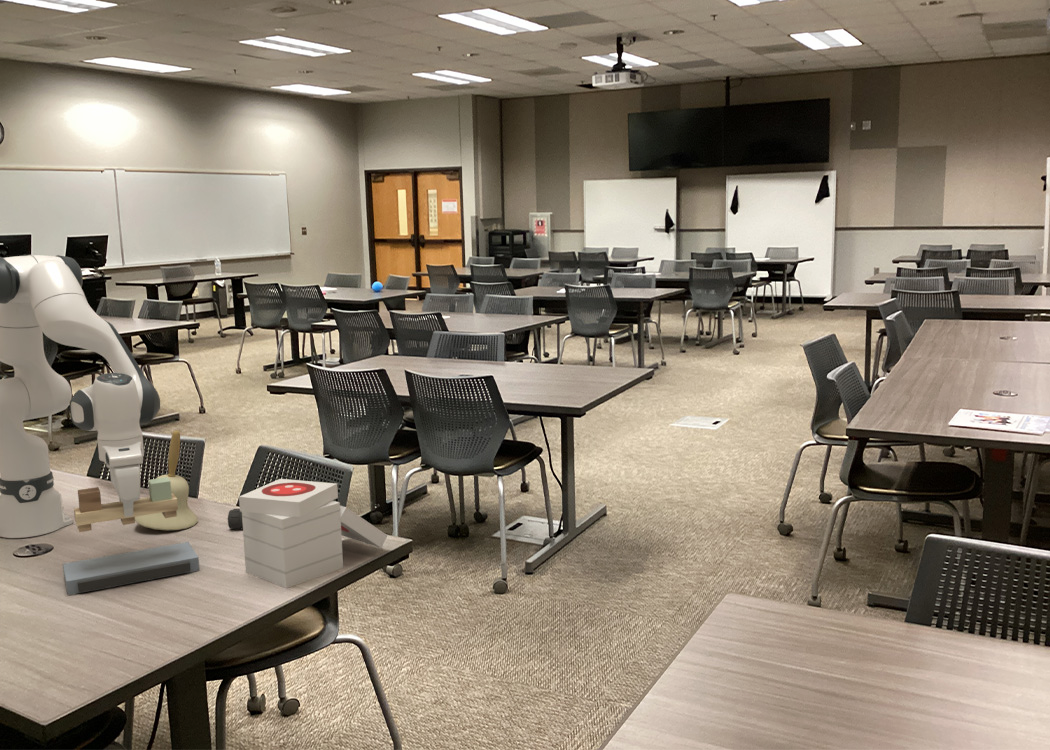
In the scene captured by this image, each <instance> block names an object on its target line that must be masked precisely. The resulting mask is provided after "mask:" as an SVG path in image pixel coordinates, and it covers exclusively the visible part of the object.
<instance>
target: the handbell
mask: <svg viewBox="0 0 1050 750" xmlns="http://www.w3.org/2000/svg"><path fill="white" fill-rule="evenodd" d="M180 450H181V432H180V431H179V430H173V432H172V433H171V439H170V443H169V449H168V455H167V458H168V460H167V464H168V466H167V467H168V474H163V475H159V476H158V477H156V478H155V479H159V478H166V477H168V479H169V480H170V482H171V494H174V495H175V497H176V498H177V504H178V510H176V512H177V516H176V517H170V518H165V517H164V515H163V514H162V513H155V514H149V515H143V516H136V517H135V523H136V524H138V525H139V526H142V527H143V528H149V529H152V530H158V531H159V530H160V531H181V530H186V529H188V528H189V529H190V528H192V527H194V526H195V525H197V523H198V522H199V519H198V515H197V514H196V513H195V512H194V511H193V510H192V509H191V508H190V506H189V504H188V499H189V492H190V488H189V486H190V485H189V483H188V481H187V480H186V479H185V478H184V477H182V476H180V475H177V474H176V469H177V466H178V463H179V457H180Z"/></svg>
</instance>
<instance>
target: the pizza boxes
mask: <svg viewBox="0 0 1050 750" xmlns="http://www.w3.org/2000/svg"><path fill="white" fill-rule="evenodd" d="M338 488H339V487H338V483H333V482H324V481H323V482H321V481H311V480H309V481H308V480H300V479H299V480H298V479H288V478H279V479H277V480H274V481H272V482H270V483H267V484H266V485H263V486H260V487H258V488H256V489H253V490H251V491H249V492H247V493H244V494H242V495H240V496H238V500H239V501H238V502H239V509H240V511H242V522H243V528H242V534H243V537H242V538H243V550H244V562H245V564H244V566H245V573H247V574H248V575H252V576H255V577H256V578H260V579H261V580H265V581H267V582H270V583H272V584H274V585H277V586H279V587H282V588H284V589H287V588H291V587H294V586H297V585H299V584H302V583H305V582H308V581H310V580H313V579H316V578H318V577H321V576H325V575H327V574H329V573H332V572H335V571H338V570H340V569H343V568H344V561H343V557H344V556H343V541H342V539H343V538H342V536H343V537H345V538H349V539H352V540H355V541H358V542H362V543H365V544H368V545H371V546H374V547H377V548H380V549H381V548H382V547H383V545H384V543H385V542H386V540H387V537H388V534H386V533H385V532H384V531H381V530H380V529H379V528H377V527H376V526H374V525H373V524H372V523H370V522H368V521H367V520H366V519H364V518H363V517H361V516H360V515H358V514H357V513H356V512H353V510H351V509H350V508H348V507H346V506H344V505H341V503H340V501H336V499H338V498H339V491H338Z"/></svg>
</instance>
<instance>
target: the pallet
mask: <svg viewBox="0 0 1050 750" xmlns="http://www.w3.org/2000/svg"><path fill="white" fill-rule="evenodd" d="M101 506H102V510H97V511H90V512H84V513H81V512H80V509H79V507H75V508H73V511H74V521H75V523H76V526H77V530H78V532H79V533H81V532H87V531H89V532H90V531H92V530H93V529H92V524H98V523H105V522H110V521H115V520H116V521H117V520H120V521H121V524H122V525H123V526H126V525H131V524H132V525H133V524H136V521H135V517H136V516H143V515H149V514H155V513H162V514H163V515H164V517H165V518H170V517H176V516H177V512H176V510H178V504H177V498H176V497H175V495H174V494H172V499H169V500H162V501H156V502H152V501H151V499H150V496H147V497H141V498H139V500H137V501H134V504H133V513H134V514H133V516H130V517H125V516H124V511H123V502H121V501H120V500H119V501H115V502H114V501H113V502H108V503H101Z"/></svg>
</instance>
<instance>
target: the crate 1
mask: <svg viewBox="0 0 1050 750" xmlns="http://www.w3.org/2000/svg"><path fill="white" fill-rule="evenodd" d="M77 498H78V508H79V509H80V512H81V513H84V512H90V511H97V510H102V506H101V504H102V498H101V490H100V488H99V486H97V487H88V488H82V489H77Z"/></svg>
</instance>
